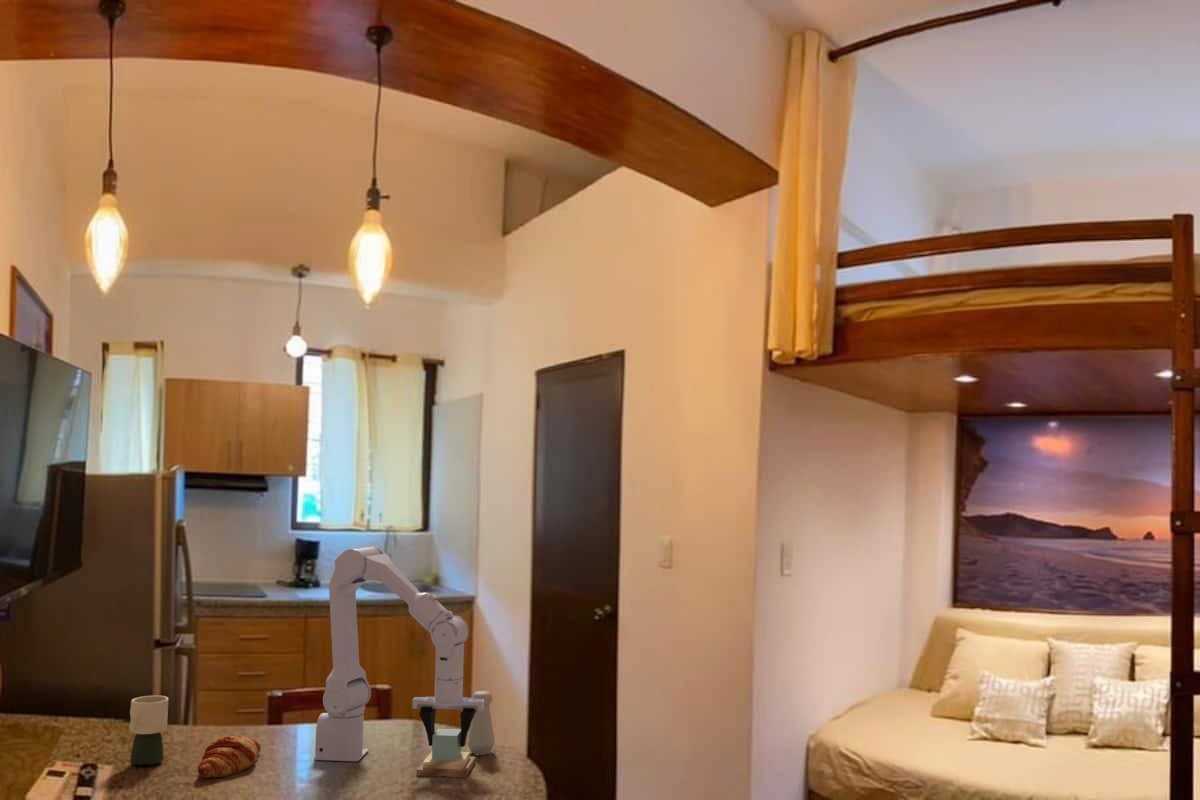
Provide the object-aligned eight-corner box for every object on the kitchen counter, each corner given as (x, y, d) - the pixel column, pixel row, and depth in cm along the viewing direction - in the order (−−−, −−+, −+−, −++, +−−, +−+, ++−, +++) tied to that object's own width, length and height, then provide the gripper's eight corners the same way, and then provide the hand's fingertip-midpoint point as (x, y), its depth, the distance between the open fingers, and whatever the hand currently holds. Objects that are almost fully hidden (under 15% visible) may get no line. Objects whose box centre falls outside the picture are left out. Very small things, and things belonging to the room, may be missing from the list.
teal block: (431, 760, 202) (432, 735, 202) (437, 753, 207) (437, 728, 207) (456, 761, 202) (457, 735, 202) (461, 753, 207) (461, 729, 207)
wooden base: (416, 775, 199) (416, 763, 200) (427, 760, 209) (428, 749, 210) (466, 777, 199) (466, 765, 199) (475, 762, 209) (475, 750, 209)
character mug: (148, 755, 210) (151, 692, 211) (178, 757, 208) (181, 694, 209) (113, 770, 199) (116, 704, 200) (145, 773, 198) (148, 706, 199)
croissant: (244, 768, 213) (230, 733, 215) (284, 749, 212) (270, 714, 214) (187, 798, 193) (172, 759, 194) (231, 777, 191) (215, 738, 193)
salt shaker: (489, 757, 212) (490, 695, 213) (463, 755, 214) (465, 694, 214) (497, 750, 218) (499, 689, 219) (472, 748, 219) (474, 688, 220)
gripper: (409, 680, 202) (407, 749, 201) (480, 682, 201) (478, 751, 200) (417, 673, 209) (415, 739, 208) (486, 675, 208) (484, 742, 207)
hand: (447, 744), depth 204 cm, fingers open, 6 cm apart
